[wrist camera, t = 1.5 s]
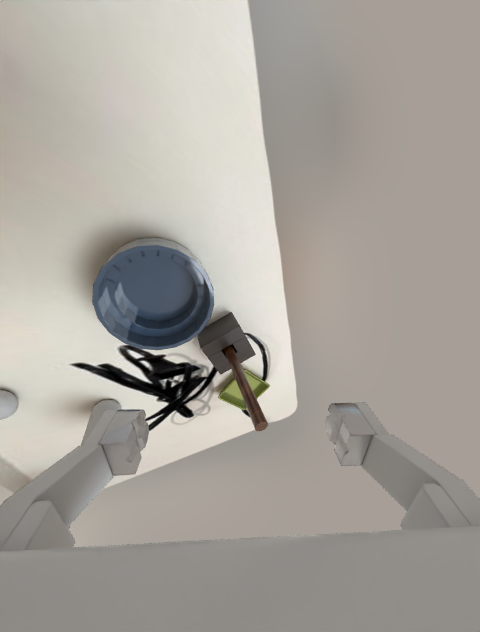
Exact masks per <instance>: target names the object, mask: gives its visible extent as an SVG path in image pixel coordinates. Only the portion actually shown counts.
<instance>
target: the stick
mask: <svg viewBox="0 0 480 632" xmlns="http://www.w3.org/2000/svg"><path fill="white" fill-rule="evenodd" d="M224 351H225V354H226V356H227V359H228V361H229V364H230V366H231V369H232V371H233V374H234V376H235V379H236V382H237V384H238V387H239V389H240V392H241V394H242V397H243V399H244V402H245V404H246V407H247V409H248V412H249V415H250V417H251V420H252V422H253V425H254V427H255V430H256V431H262V430H264V429H265V428H266V427H267V426H268V423H267V421H266V419H265V417H264V414H263V412H262V410H261V408H260V406H259V403H258V401H257V399H256V397H255V395H254V393H253V390H252V388H251V386H250V384H249V382H248V379H247V377H246V375H245V373H244V371H243V368H242V366H241V364H240V362H239V360H238V358H237V355H236V353H235V351H234V349H233V347H232V344H231V345H229V346H228V347H226V348H224Z"/></svg>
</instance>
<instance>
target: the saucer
mask: <svg viewBox="0 0 480 632" xmlns="http://www.w3.org/2000/svg"><path fill="white" fill-rule="evenodd" d="M243 371H244V373H245V375H246V377H247V379H248V382H249V384H250V386H251V388H252V390H253V393H254V395H255V397H256V399H257V398H258V397H259V396H260V395H261V394H262V393H264V392H265V391H266V390H267V389H268V388H269V387H270V385H269V384H268V383H266V382H264V381H263V380H261V379H260V378H258V377H256V376H255V375H253V374H251V373H250V372H248V371H247V370H243ZM218 398H219V399H221V400H223V401H225V402H228V403H230V404H232V405H234V406H236V407H238V408H240V409H242V410H245V409H247V407H246V404H245V402H244V399H243V397H242V394H241V392H240V389H239V387H238V384H237V382H236V379H235V378H234V379H233V380H232V381H231V382H230V383H229V384H228V385H227V386H226V387H225V388H224V389H223V391H222V392H221V393H220V395H219V397H218Z"/></svg>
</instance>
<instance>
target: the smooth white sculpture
mask: <svg viewBox="0 0 480 632" xmlns="http://www.w3.org/2000/svg"><path fill="white" fill-rule="evenodd" d="M17 408H18V400H17V398H16V397H15V396H14V395H13V394H12V393H10V392H7V391H3V390H0V420H1V419H5V418H8V417H10V416H11V415H12V414H14V413H15V412H16V410H17Z"/></svg>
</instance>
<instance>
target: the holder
mask: <svg viewBox="0 0 480 632" xmlns="http://www.w3.org/2000/svg"><path fill="white" fill-rule="evenodd" d="M197 336H198V340H199V344H200V348H201V349H202V351H203V352H204V353H205V355H206V356H207V357H208V359H209V360H210V361H211V363H212V364H213V365H214V367H215V368H216V369H217V371H218V372H219V373H220V374H223V373H224V372H226V371H228V370H230V369H231V366H230V364H229V361H228V359H227V356H226V354H225V351H224V348H226V347H228V346H229V345H231V344H232V347H233V349H234V351H235V353H236V355H237V358H238V360H239V362H240V363H242V362H243V361H245V360H247V359H249V358H250V357H252V356H254V355H256V354H255V352H254V350H253V349H252V347H251V345H250V343H249V341H248V340H247V338H246V336H245V334H244V333H243V331H242V329H241V327H240V325H239V324H238V322H237V320H236V319H235V317H234V315H233V313H232V312H231V313H230V314H228V315H226V316H224V317H223V318H221V319H219V320H217V321H216V322H214V323H212V324H210V325H209V326H207V327H205V328H203V330H202V331H201V332H200V333H199V334H198V335H197Z"/></svg>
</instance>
